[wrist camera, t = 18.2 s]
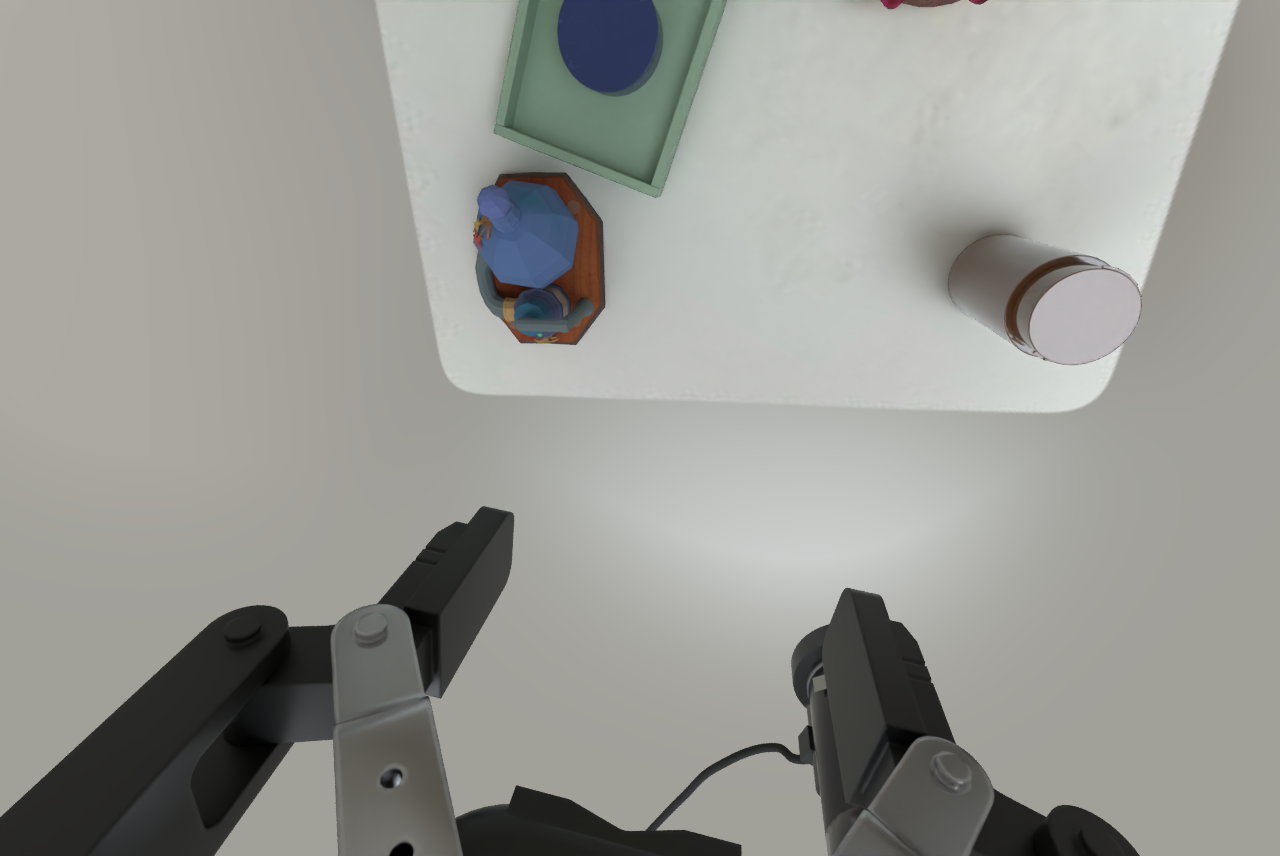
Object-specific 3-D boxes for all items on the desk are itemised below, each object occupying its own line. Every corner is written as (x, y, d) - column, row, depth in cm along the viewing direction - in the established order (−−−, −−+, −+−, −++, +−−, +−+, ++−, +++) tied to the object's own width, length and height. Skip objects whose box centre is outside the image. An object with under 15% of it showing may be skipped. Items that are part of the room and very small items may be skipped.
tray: (660, 196, 37) (656, 198, 36) (505, 134, 37) (492, 133, 36) (749, -65, 31) (749, -79, 29) (561, -139, 31) (550, -158, 29)
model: (470, 173, 39) (396, 176, 31) (600, 170, 37) (559, 172, 29) (493, 341, 44) (435, 382, 36) (608, 344, 42) (575, 388, 34)
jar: (1012, 324, 37) (1108, 382, 27) (934, 306, 37) (1001, 356, 28) (1053, 244, 35) (1175, 276, 25) (969, 225, 35) (1057, 249, 25)
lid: (584, -37, 32) (573, -51, 30) (678, 0, 32) (673, -12, 30) (557, 76, 35) (546, 71, 33) (644, 111, 35) (637, 107, 33)
